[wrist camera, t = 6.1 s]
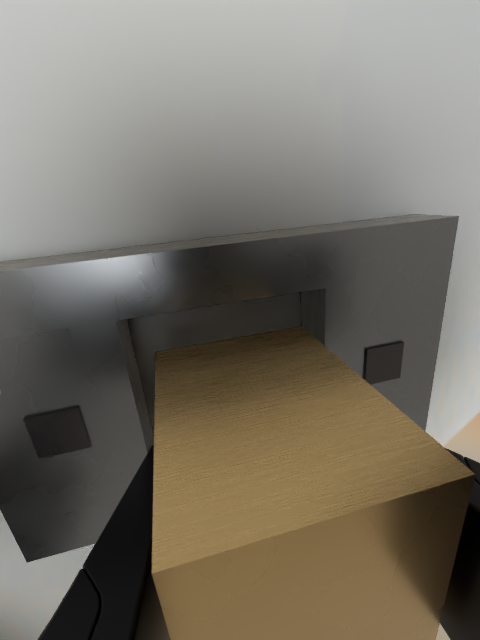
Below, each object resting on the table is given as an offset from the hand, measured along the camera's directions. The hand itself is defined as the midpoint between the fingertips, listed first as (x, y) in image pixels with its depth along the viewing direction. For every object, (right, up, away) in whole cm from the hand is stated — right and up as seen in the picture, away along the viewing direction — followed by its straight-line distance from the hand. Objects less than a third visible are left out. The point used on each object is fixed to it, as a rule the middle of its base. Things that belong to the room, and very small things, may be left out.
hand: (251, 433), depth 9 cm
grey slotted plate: (-1, +1, +4) cm, 4 cm away
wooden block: (0, +1, +1) cm, 2 cm away
